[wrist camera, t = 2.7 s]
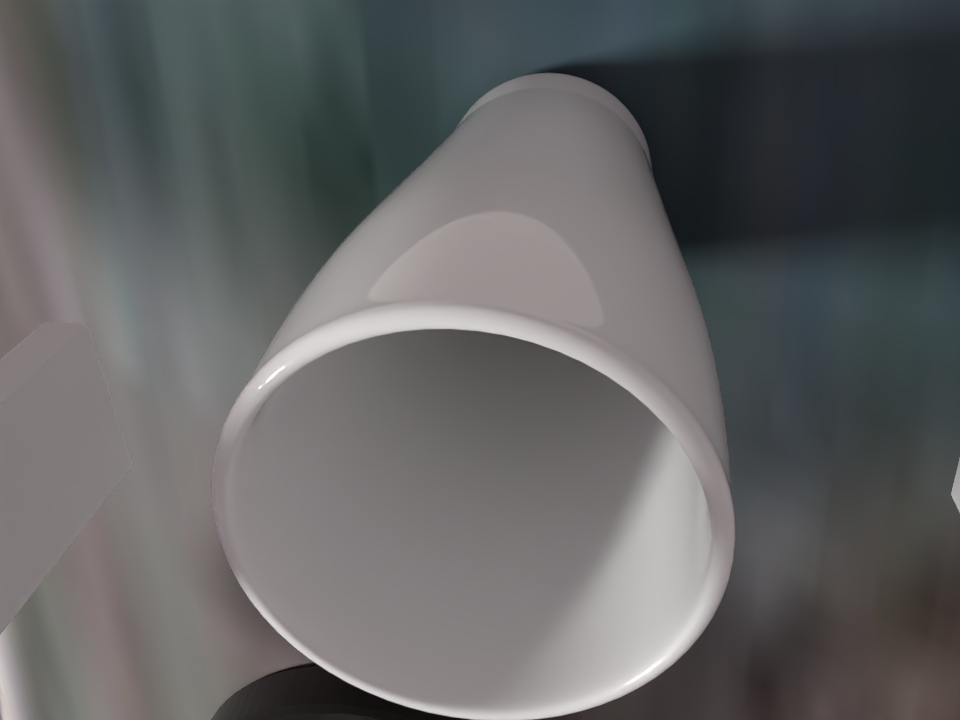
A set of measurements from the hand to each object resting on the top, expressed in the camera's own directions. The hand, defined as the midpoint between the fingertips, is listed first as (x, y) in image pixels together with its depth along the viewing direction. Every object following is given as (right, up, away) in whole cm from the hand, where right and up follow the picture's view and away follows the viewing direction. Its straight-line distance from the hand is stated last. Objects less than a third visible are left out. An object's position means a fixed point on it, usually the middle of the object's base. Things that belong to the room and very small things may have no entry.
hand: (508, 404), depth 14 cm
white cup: (+1, +6, +11) cm, 12 cm away
